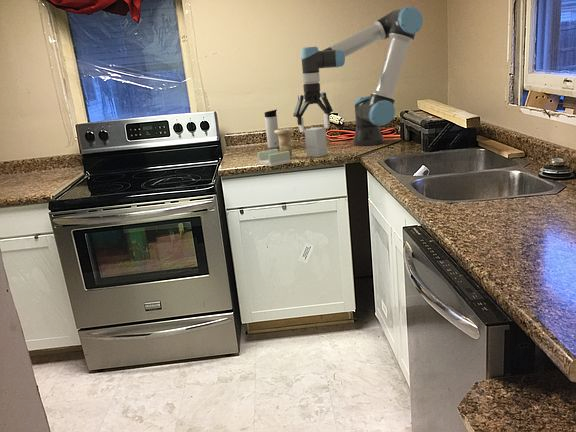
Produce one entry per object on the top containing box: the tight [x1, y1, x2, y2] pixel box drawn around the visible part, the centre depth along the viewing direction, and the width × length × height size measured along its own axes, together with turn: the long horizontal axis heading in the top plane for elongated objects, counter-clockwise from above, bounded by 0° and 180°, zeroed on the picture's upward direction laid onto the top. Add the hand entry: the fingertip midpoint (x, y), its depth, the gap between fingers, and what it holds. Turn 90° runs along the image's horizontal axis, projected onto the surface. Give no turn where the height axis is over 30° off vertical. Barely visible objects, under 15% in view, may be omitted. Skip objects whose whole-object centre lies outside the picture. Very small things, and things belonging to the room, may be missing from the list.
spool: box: [274, 128, 297, 160], centre depth 242 cm, size 9×9×13 cm
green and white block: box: [256, 148, 291, 167], centre depth 234 cm, size 10×12×5 cm
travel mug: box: [264, 109, 280, 150], centre depth 271 cm, size 6×7×20 cm
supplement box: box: [303, 127, 328, 158], centre depth 241 cm, size 7×7×13 cm
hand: (314, 130), depth 239 cm, fingers open, 13 cm apart
